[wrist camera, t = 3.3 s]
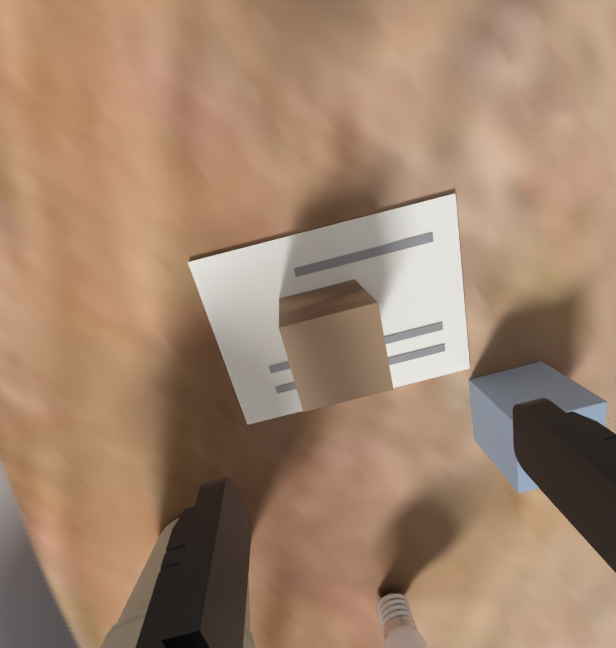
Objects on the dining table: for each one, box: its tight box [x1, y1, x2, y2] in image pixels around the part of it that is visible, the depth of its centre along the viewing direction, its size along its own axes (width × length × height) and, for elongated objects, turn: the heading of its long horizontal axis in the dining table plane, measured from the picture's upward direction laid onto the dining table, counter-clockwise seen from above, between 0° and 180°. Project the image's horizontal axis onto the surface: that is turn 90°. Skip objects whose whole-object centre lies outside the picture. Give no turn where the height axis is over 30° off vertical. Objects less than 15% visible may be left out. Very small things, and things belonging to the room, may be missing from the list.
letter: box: [188, 193, 470, 425], centre depth 21 cm, size 15×11×1 cm
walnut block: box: [279, 279, 393, 412], centre depth 18 cm, size 4×4×5 cm
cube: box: [469, 361, 607, 493], centre depth 22 cm, size 5×5×5 cm
